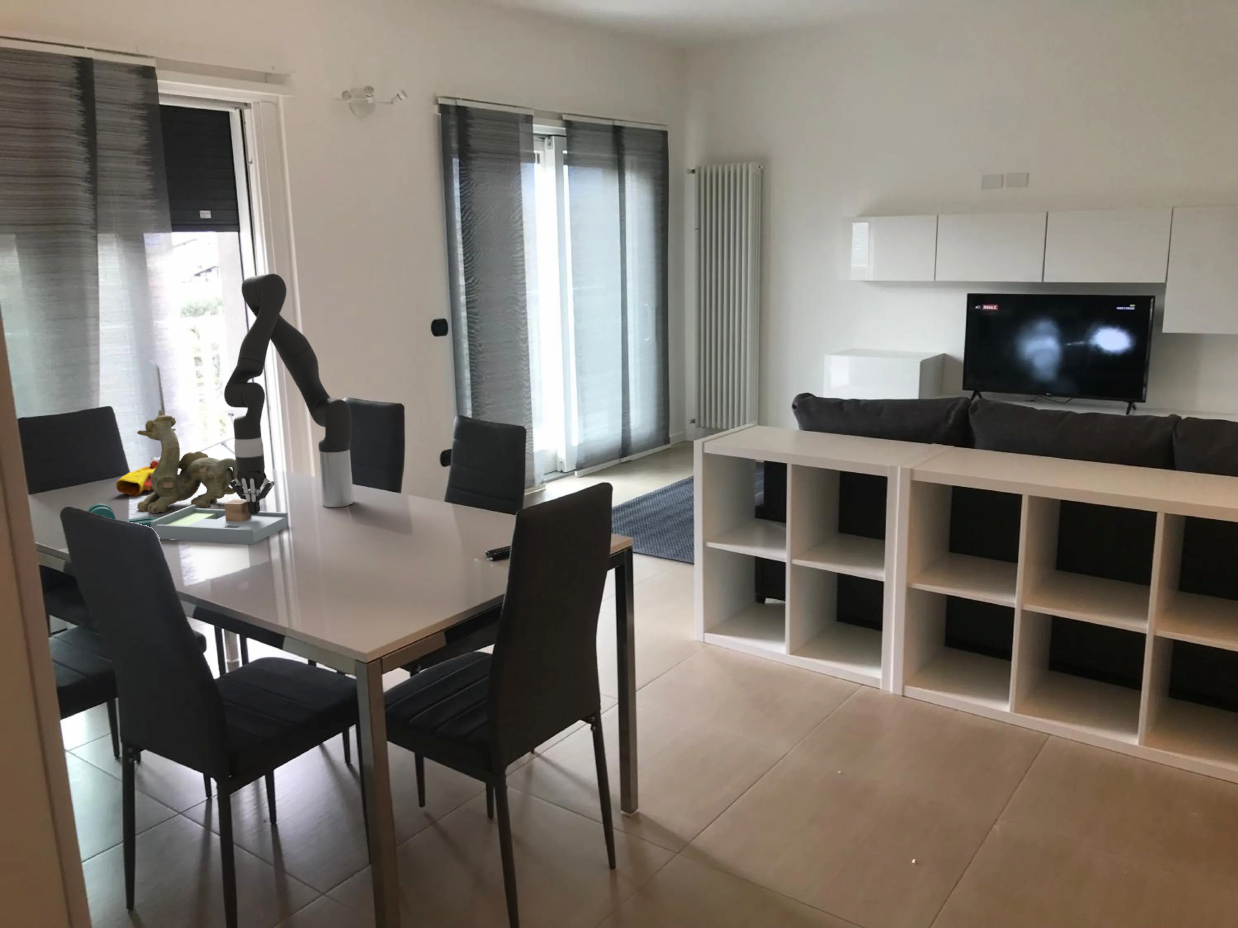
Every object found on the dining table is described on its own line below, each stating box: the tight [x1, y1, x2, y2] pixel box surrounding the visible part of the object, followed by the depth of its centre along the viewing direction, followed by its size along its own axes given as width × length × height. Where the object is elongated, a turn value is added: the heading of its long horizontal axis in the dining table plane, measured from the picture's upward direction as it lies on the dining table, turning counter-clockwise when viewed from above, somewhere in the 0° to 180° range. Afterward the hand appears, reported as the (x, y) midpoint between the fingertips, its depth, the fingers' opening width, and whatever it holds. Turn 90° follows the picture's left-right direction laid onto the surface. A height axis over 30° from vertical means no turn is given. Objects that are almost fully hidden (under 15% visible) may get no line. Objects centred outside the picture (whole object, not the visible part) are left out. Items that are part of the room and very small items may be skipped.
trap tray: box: [151, 504, 289, 546], centre depth 277 cm, size 19×30×5 cm, turn 79°
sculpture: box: [136, 409, 243, 514], centre depth 307 cm, size 29×27×30 cm
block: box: [224, 498, 252, 521], centre depth 280 cm, size 5×5×5 cm
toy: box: [115, 455, 161, 497], centre depth 334 cm, size 9×13×30 cm
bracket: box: [87, 502, 159, 527], centre depth 281 cm, size 18×7×8 cm, turn 121°
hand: (254, 513), depth 279 cm, fingers closed
